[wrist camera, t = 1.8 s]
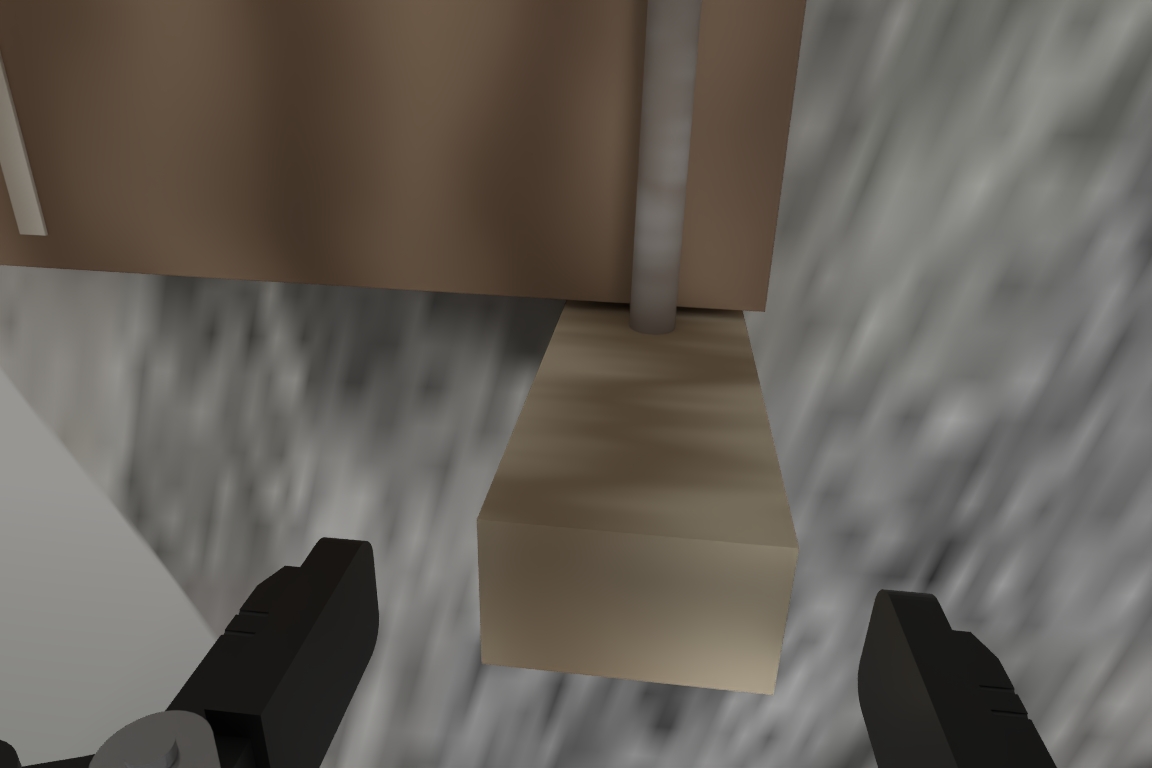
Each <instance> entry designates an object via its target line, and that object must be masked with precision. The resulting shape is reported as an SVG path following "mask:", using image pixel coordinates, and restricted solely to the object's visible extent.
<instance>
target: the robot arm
mask: <svg viewBox="0 0 1152 768" xmlns="http://www.w3.org/2000/svg"><path fill="white" fill-rule="evenodd" d="M378 627H379V610H378V600H377V589H376V578H375V567H374V557H373V549H372V546H371V544H370V542H368V541H360V540H349V539H338V538H327V537H323V538H321V539H320V540H319V541H318V542H317V543H316V545H315V546H314V548H313V549H312V551H311V552H310V554H309V555H308V557H307V558H306V559H305V561H304V562H303V564H302V565H301V567H292V566H284V567H283V568H281V569H280V570H279V571H277V572H276V573H274V574H273V575H272V576H270V577H269V578H267V579H266V580H264V581H263V582H262V583H260V584H259V585H257V587H256V588H255V589H254V591H253V592H252V593H251V595H250V596H249V598H248V599H247V600H246V602H245V603H244V604H243V606H242V607H241V608H240V612H239V615H235V617H234V618H233V619H232V621H231V622H230V623H229V625H228V626H227V628H226V629H225V633H224V635H221V636H220V637H219V638H218V640H217V641H216V642H215V644H214V645H213V647H212V648H211V649H210V651H209V652H208V653H207V655H206V656H205V657H204V659H203V660H202V662H201V663H200V664H199V666H198V667H197V668H196V670H195V671H194V672H193V674H192V675H191V677H190V678H189V679H188V681H187V682H186V683H185V685H184V686H183V687H182V689H181V690H180V692H179V693H178V694H177V696H176V697H175V698H174V700H173V701H172V702H171V704H170V705H169V707H168V708H167V709H166V710H165V711H164V712H159V713H155V714H151V715H148V716H145V717H143V718H140V719H138V720H136V721H134V722H132V723H130V724H128V725H126V726H125V727H123V728H122V729H120V730H119V731H117V732H116V733H115V734H113V735H112V736H111V737H110V738H109V739H108V740H107V741H106V742H105V743H104V744H103V745H102V746H101V747H100V748H99V750H98V751H97V752H96V754H93V755H89V756H84V757H78V758H71V759H66V760H59V761H53V762H48V763H41V764H35V765H29V766H24V767H22V766H21V763H20V761H19V758H18V755H17V753H16V751H15V749H14V748H13V747H12V746H11V745H10V744H8V743H7V742H5V741H2V740H0V768H319V767H320V765H321V763H322V761H323V759H324V757H325V754H326V752H327V750H328V748H329V746H330V744H331V742H332V739H333V737H334V735H335V733H336V731H337V729H338V727H339V725H340V722H341V720H342V718H343V716H344V714H345V712H346V710H347V707H348V705H349V703H350V701H351V699H352V697H353V695H354V693H355V690H356V688H357V686H358V684H359V682H360V680H361V678H362V675H363V673H364V671H365V669H366V667H367V665H368V663H369V660H370V658H371V656H372V654H373V651H374V648H375V644H376V640H377V635H378ZM858 694H859V702H860V706H861V710H862V714H863V717H864V721H865V724H866V727H867V731H868V734H869V738H870V741H871V745H872V748H873V751H874V755H875V758H876V762H877V765H878V768H1057V767H1056V765H1055V763H1054V761H1053V760H1052V758H1051V756H1050V754H1049V752H1048V750H1047V748H1046V747H1045V745H1044V743H1043V741H1042V739H1041V737H1040V735H1039V733H1038V732H1037V730H1036V728H1035V726H1034V724H1033V722H1032V720H1030V719H1028V717H1027V714H1028V713H1027V711H1026V709H1025V707H1024V705H1023V704H1022V702H1021V700H1020V698H1019V696H1018V694H1015V693H1014V687H1013V685H1012V683H1011V681H1010V679H1009V677H1008V675H1007V674H1006V672H1005V670H1004V668H1003V666H1002V664H1001V662H1000V661H999V659H998V658H997V657H996V656H995V655H994V654H993V653H992V652H991V651H990V650H989V649H988V648H987V647H986V646H985V645H984V644H983V643H981V642H980V641H979V640H978V639H977V638H976V637H975V636H974V635H973V634H972V633H971V632H965V631H955V630H952V629H951V627H950V624H949V622H948V620H947V618H946V616H945V614H944V612H943V610H942V608H941V606H940V604H939V602H938V600H937V598H936V597H935V596H934V595H933V594H927V593H916V592H905V591H894V590H883V589H882V590H880V591H879V592H878V594H877V596H876V599H875V602H874V606H873V610H872V614H871V618H870V622H869V627H868V631H867V635H866V639H865V643H864V647H863V651H862V655H861V659H860V664H859V670H858Z"/></svg>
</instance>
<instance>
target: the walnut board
mask: <svg viewBox="0 0 1152 768" xmlns="http://www.w3.org/2000/svg"><path fill="white" fill-rule="evenodd" d="M647 6H648V0H0V265H11V266H27V267H44V268H60V269H76V270H93V271H109V272H125V273H142V274H158V275H174V276H190V277H207V278H223V279H239V280H256V281H272V282H288V283H305V284H321V285H337V286H354V287H370V288H386V289H402V290H419V291H435V292H451V293H468V294H484V295H500V296H517V297H533V298H549V299H565V300H582V301H598V302H614V303H631V287H632V269H633V252H634V234H635V217H636V199H637V182H638V164H639V147H640V129H641V112H642V94H643V76H644V59H645V41H646V24H647ZM805 7H806V0H702V5H701V17H700V29H699V41H698V53H697V65H696V78H695V90H694V102H693V114H692V126H691V138H690V150H689V162H688V174H687V186H686V198H685V210H684V222H683V234H682V246H681V258H680V270H679V282H678V294H677V306H680V307H696V308H712V309H729V310H745V311H761V312H765V307H766V300H767V292H768V285H769V277H770V270H771V262H772V255H773V247H774V240H775V232H776V225H777V217H778V210H779V202H780V195H781V187H782V180H783V172H784V165H785V157H786V150H787V142H788V135H789V127H790V120H791V112H792V105H793V97H794V90H795V82H796V75H797V67H798V60H799V52H800V45H801V37H802V30H803V22H804V15H805Z"/></svg>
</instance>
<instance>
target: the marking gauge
mask: <svg viewBox="0 0 1152 768" xmlns="http://www.w3.org/2000/svg"><path fill="white" fill-rule="evenodd" d="M701 5H702V0H648V6H647V24H646V41H645V59H644V76H643V94H642V112H641V129H640V147H639V164H638V182H637V199H636V217H635V234H634V252H633V269H632V287H631V303H614V302H598V301H582V300H567V301H566V303H565V306H564V308H563V311H562V313H561V316H560V318H559V320H558V323H557V325H556V328H555V330H554V333H553V335H552V337H551V340H550V342H549V345H548V347H547V350H546V352H545V355H544V357H543V359H542V362H541V364H540V367H539V369H538V372H537V374H536V377H535V379H534V381H533V384H532V386H531V389H530V391H529V394H528V396H527V399H526V401H525V403H524V406H523V408H522V411H521V413H520V416H519V418H518V421H517V423H516V425H515V428H514V430H513V433H512V435H511V438H510V440H509V443H508V445H507V447H506V450H505V452H504V455H503V457H502V460H501V462H500V465H499V467H498V469H497V472H496V474H495V477H494V479H493V482H492V484H491V486H490V489H489V491H488V494H487V496H486V499H485V501H484V504H483V506H482V508H481V511H480V513H479V516H478V518H477V537H478V567H479V597H480V627H481V657H482V664H490V665H499V666H509V667H518V668H527V669H536V670H546V671H555V672H564V673H574V674H583V675H592V676H601V677H611V678H620V679H629V680H638V681H648V682H657V683H666V684H675V685H685V686H694V687H703V688H713V689H722V690H731V691H740V692H750V693H759V694H768V695H774V689H775V683H776V678H777V672H778V666H779V661H780V655H781V649H782V644H783V638H784V632H785V626H786V621H787V615H788V609H789V604H790V598H791V592H792V587H793V581H794V575H795V570H796V564H797V558H798V553H799V546H798V541H797V537H796V533H795V529H794V525H793V520H792V516H791V512H790V508H789V504H788V499H787V495H786V491H785V487H784V483H783V479H782V474H781V470H780V466H779V462H778V458H777V453H776V449H775V445H774V441H773V437H772V432H771V428H770V424H769V420H768V416H767V412H766V407H765V403H764V399H763V395H762V391H761V386H760V382H759V378H758V374H757V370H756V365H755V361H754V357H753V353H752V349H751V345H750V340H749V336H748V332H747V328H746V324H745V319H744V315H743V311H742V310H729V309H712V308H696V307H680V306H677V294H678V282H679V270H680V258H681V246H682V234H683V222H684V210H685V198H686V186H687V174H688V162H689V150H690V138H691V126H692V114H693V102H694V90H695V78H696V65H697V53H698V41H699V29H700V17H701Z"/></svg>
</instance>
